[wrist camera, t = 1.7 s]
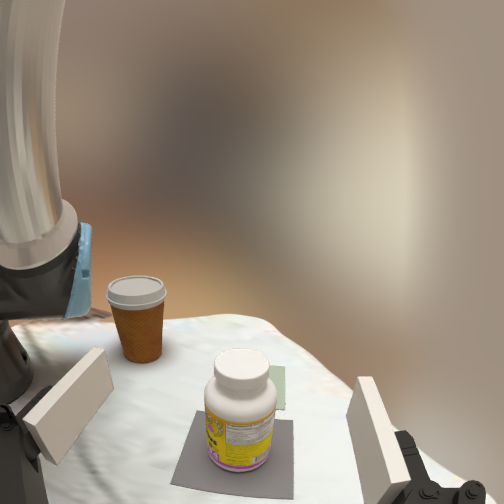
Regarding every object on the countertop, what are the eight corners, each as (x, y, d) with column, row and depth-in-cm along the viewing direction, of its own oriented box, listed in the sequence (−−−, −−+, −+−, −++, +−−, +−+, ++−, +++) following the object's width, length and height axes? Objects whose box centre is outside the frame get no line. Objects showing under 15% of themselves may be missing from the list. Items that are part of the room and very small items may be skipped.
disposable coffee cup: (179, 362, 44) (174, 292, 41) (120, 373, 39) (108, 300, 36) (161, 334, 51) (157, 272, 49) (111, 342, 47) (102, 278, 44)
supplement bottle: (208, 430, 30) (205, 340, 27) (265, 430, 31) (275, 341, 28) (206, 474, 24) (199, 385, 21) (272, 473, 24) (287, 385, 21)
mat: (207, 402, 35) (207, 401, 35) (221, 361, 45) (221, 360, 45) (284, 410, 35) (285, 409, 35) (285, 367, 44) (285, 366, 44)
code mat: (170, 483, 22) (170, 483, 22) (196, 410, 34) (196, 410, 34) (293, 499, 21) (293, 498, 21) (292, 420, 33) (293, 420, 33)
